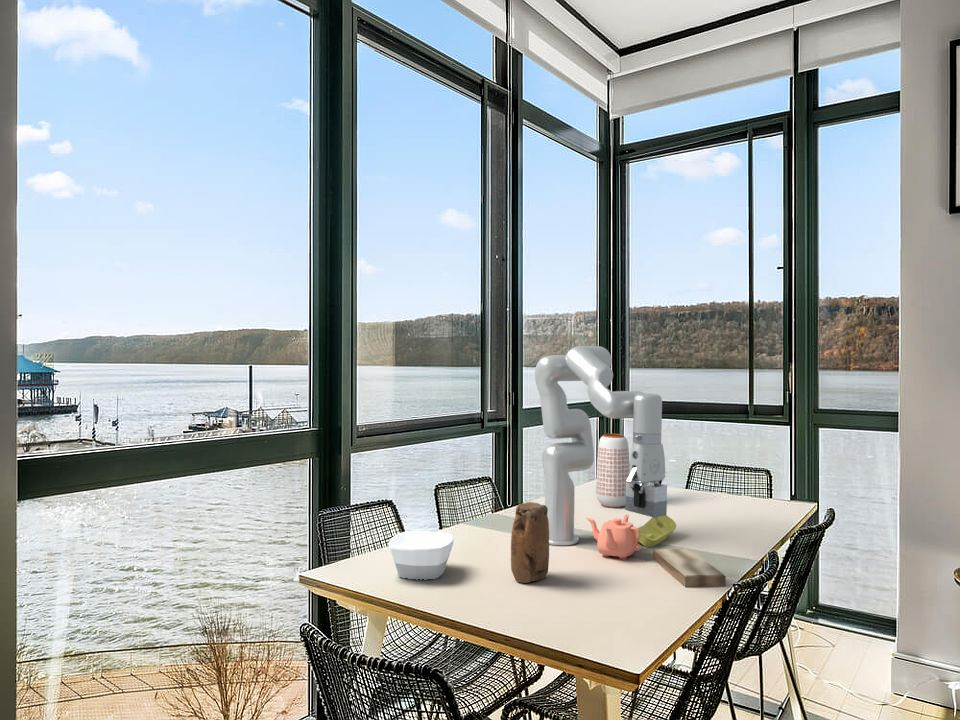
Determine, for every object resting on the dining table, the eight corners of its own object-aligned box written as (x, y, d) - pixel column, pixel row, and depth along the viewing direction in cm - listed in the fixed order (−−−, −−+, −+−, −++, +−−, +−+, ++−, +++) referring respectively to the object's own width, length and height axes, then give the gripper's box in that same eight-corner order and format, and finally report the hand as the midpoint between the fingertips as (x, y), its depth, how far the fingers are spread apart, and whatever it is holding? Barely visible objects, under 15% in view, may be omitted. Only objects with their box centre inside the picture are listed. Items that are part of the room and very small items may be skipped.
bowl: (381, 582, 185) (381, 546, 185) (398, 562, 202) (398, 529, 202) (447, 585, 182) (447, 550, 182) (458, 565, 200) (458, 532, 200)
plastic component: (652, 542, 217) (626, 523, 223) (643, 560, 220) (618, 541, 225) (681, 525, 232) (656, 508, 237) (672, 543, 234) (648, 525, 240)
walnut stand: (685, 587, 182) (685, 575, 182) (653, 559, 206) (653, 549, 206) (725, 585, 183) (725, 574, 183) (689, 558, 207) (689, 548, 207)
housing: (654, 517, 184) (655, 486, 184) (625, 510, 192) (626, 479, 192) (666, 515, 187) (667, 483, 187) (637, 507, 195) (638, 477, 195)
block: (528, 570, 195) (529, 499, 195) (551, 576, 190) (552, 503, 190) (506, 581, 186) (507, 506, 186) (530, 587, 182) (530, 510, 181)
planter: (593, 501, 284) (594, 432, 283) (626, 502, 283) (627, 433, 283) (598, 509, 270) (598, 436, 270) (632, 509, 270) (633, 437, 269)
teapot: (606, 564, 201) (606, 526, 201) (585, 550, 215) (585, 515, 215) (651, 560, 206) (651, 523, 205) (627, 546, 219) (627, 512, 219)
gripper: (637, 443, 181) (636, 512, 182) (678, 438, 192) (676, 504, 192) (615, 439, 187) (614, 507, 188) (656, 435, 198) (654, 499, 198)
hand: (645, 504), depth 190 cm, fingers closed on housing, 5 cm apart
